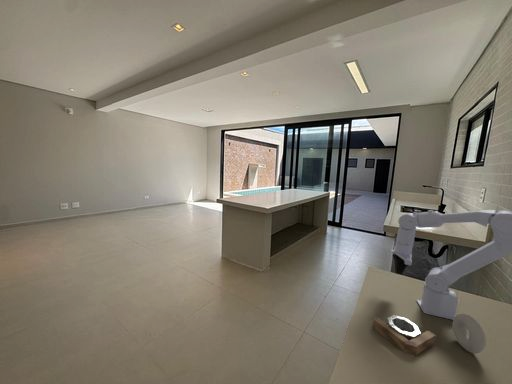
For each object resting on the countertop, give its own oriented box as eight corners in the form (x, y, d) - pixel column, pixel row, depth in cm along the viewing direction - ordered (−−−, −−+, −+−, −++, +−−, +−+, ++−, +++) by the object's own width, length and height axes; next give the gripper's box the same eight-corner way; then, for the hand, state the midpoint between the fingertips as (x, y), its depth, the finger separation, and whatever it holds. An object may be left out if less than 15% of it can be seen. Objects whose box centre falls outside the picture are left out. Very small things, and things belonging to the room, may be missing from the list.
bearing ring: (412, 329, 71) (414, 320, 70) (422, 349, 63) (423, 339, 63) (384, 322, 74) (385, 313, 73) (390, 340, 66) (391, 330, 65)
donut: (485, 363, 59) (493, 331, 58) (471, 361, 60) (478, 329, 59) (459, 335, 69) (465, 307, 68) (447, 333, 70) (452, 305, 68)
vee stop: (431, 340, 67) (433, 331, 66) (445, 365, 58) (447, 355, 58) (371, 324, 72) (372, 316, 72) (376, 345, 64) (378, 336, 64)
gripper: (388, 234, 95) (383, 263, 97) (399, 247, 81) (392, 280, 83) (406, 237, 93) (401, 266, 95) (420, 251, 79) (413, 284, 81)
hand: (398, 273), depth 89 cm, fingers closed
